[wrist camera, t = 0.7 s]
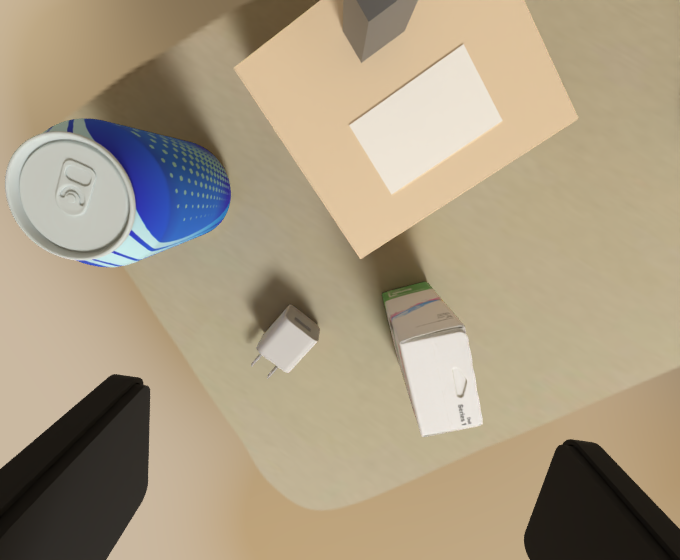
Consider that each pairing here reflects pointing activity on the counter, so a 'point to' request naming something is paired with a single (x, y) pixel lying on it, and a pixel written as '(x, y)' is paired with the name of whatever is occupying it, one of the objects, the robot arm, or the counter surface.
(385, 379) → the counter surface
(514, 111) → the tan labeled panel
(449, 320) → the ink box
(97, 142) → the beer can
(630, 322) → the counter surface
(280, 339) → the usb wall charger
